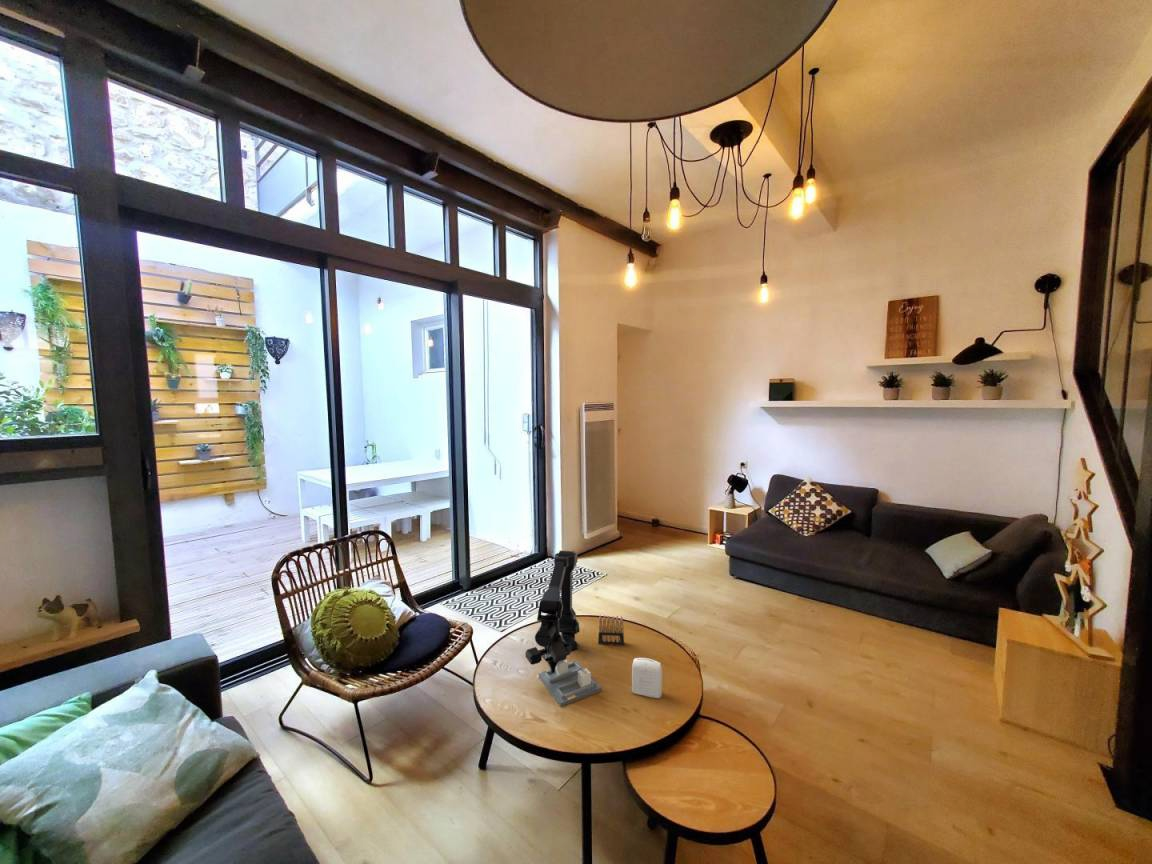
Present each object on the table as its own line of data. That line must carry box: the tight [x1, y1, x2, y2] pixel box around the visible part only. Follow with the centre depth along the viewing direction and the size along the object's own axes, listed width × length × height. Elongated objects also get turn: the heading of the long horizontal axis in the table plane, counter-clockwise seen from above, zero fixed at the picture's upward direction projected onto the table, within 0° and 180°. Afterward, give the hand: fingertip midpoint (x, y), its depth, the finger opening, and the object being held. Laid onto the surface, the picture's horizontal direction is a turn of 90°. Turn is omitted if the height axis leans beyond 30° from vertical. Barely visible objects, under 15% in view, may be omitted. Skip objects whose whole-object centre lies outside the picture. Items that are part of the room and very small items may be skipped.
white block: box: [578, 667, 592, 688], centre depth 156 cm, size 3×4×5 cm
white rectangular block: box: [556, 658, 569, 676], centre depth 163 cm, size 3×4×5 cm
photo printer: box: [631, 657, 663, 699], centre depth 153 cm, size 10×4×12 cm, turn 73°
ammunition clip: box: [597, 615, 625, 646], centre depth 184 cm, size 11×2×12 cm, turn 84°
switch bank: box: [538, 660, 602, 707], centre depth 159 cm, size 18×16×2 cm
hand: (552, 671), depth 162 cm, fingers closed
